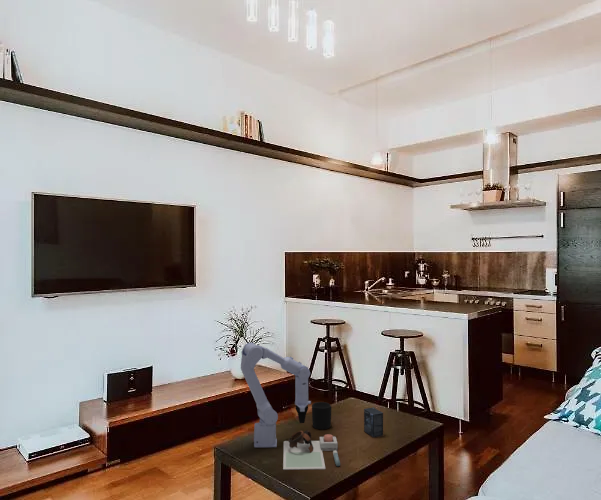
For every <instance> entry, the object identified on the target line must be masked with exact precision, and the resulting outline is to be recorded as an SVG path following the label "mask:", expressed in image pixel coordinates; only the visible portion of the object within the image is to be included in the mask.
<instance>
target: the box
mask: <svg viewBox="0 0 601 500" xmlns="http://www.w3.org/2000/svg"><path fill="white" fill-rule="evenodd" d="M363 432H365V433H366V434H368V435H369V436H371V437H372V438H378V437H379V438H380V437H383V436H384V412H383V411H380V410H379V409H377V408H375V407H367V408H364V409H363Z"/></svg>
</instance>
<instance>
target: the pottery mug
mask: <svg viewBox="0 0 601 500" xmlns="http://www.w3.org/2000/svg"><path fill="white" fill-rule="evenodd" d="M287 441H289V443H290V444H289V446H290V447H296V448H297V443H301V444H304V441H305V444H309V443H310V447H309V448H308V449H309V450H310V453H311V452H312V451H313V445H312V443H311V441H312V433H311V431H310V430H308V429H307V430H305V431H303V430H298V431H297V432H295V433H293V434H292V435H291V436H290V437H289V438H288V440H287Z"/></svg>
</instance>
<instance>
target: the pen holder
mask: <svg viewBox="0 0 601 500" xmlns="http://www.w3.org/2000/svg"><path fill="white" fill-rule="evenodd" d="M311 419H312V420H311V422H312V427H313V428H314V429H317V430H327V429H328V430H329V428H331V424H332V405H331V404H330V403H328V402H324V401H319V402H318V401H317V402H313V404H312V403H311Z"/></svg>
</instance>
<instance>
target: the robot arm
mask: <svg viewBox="0 0 601 500" xmlns="http://www.w3.org/2000/svg"><path fill="white" fill-rule="evenodd" d="M261 359H262V360H265V359H269V360H271V361H273V362H275V363H277V364H279V365H280V368H281V369H282V370H284V371H286V372H288V373H290V374H292V375H294V376H295V378H294V379H295V381H294V382H295V383H294V384H295V393H294V395H295V401H294V405H295V410H296V412H297V415H298V421H299V424H305V421H306V416H307V412H308V410H309V405H312V401H311V400H309V377H310V376H311V372H310V368H309V367H308V366H306V365H304V364H303V363H302V362H301V361H297V360H295V359H294V357H292V356H285V357H282V356H281V355H279V354H278V353H276V352H274V351H273V350H271V349H269V348H268V347H265V346H263V345H259V344H256V343H254V342H246V343H245V345H244V346H243V348H242V350H241V360H240V371H241V373H242V374H243V377H244V379H245V381H246V384H247V386H248V387H249V390H250V393H251V394H252V396H253V399H254V401H255V402H254V403H255V404H256V408H257V417H259V422H255V423H254V428H253V429H254V431H253V448H277V444H278V439H277V421H278V419H279V416H278V414H279V413H277V411H276V410H274V409H273V407H272V405H271V404H270V401H269V400H268V399H267V396H266V394H265V391H264V390H263V387H262V385H261V383H260V380H259V378H258V375H257V374H256V371H255V367H256V365H257V364H258V363H259V362H260V360H261Z"/></svg>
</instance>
